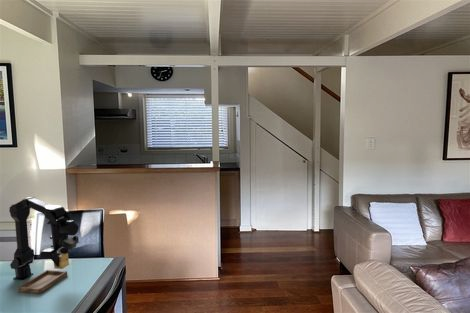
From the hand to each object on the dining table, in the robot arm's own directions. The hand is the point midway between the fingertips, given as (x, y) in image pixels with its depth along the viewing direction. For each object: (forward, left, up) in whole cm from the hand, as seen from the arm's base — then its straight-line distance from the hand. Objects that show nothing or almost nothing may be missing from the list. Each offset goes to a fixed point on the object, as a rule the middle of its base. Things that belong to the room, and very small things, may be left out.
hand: (61, 264), depth 158 cm
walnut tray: (-11, 0, -11) cm, 16 cm away
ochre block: (0, 0, -1) cm, 1 cm away
